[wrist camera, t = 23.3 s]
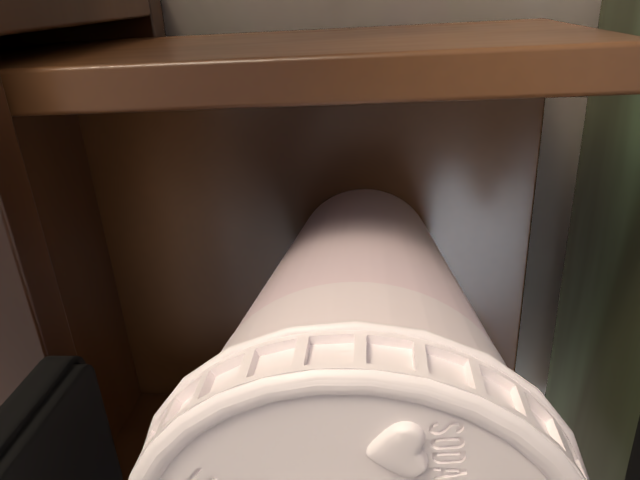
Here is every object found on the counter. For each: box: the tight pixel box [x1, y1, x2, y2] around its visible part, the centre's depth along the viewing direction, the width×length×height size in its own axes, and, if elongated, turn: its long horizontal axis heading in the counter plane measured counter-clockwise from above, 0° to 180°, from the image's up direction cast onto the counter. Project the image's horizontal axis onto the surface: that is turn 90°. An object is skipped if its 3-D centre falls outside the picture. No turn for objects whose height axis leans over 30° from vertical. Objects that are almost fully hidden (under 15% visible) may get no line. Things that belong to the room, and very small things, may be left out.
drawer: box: [0, 0, 640, 480], centre depth 14 cm, size 20×14×7 cm, turn 93°
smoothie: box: [128, 189, 589, 480], centre depth 10 cm, size 6×6×14 cm
